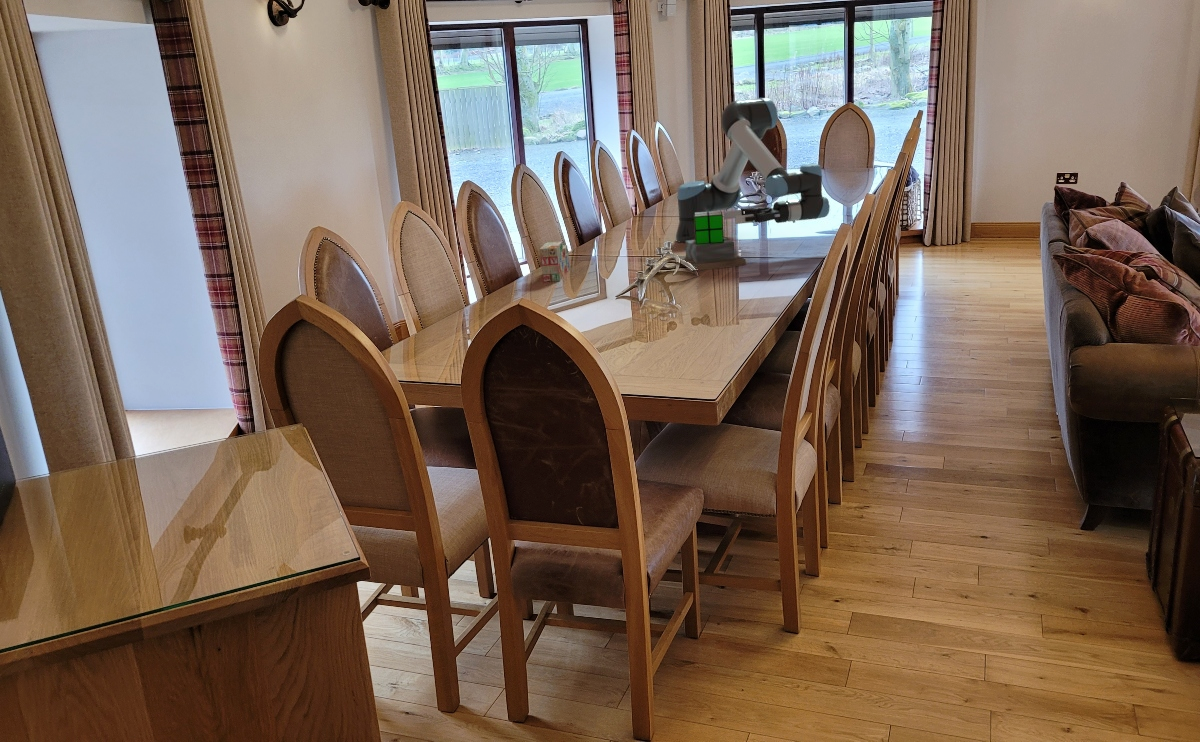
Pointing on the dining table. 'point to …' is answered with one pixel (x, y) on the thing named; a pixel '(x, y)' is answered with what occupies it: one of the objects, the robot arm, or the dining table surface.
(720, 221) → the puzzle cube
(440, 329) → the dining table surface
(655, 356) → the dining table surface
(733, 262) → the tower base
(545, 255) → the stack of blocks
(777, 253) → the dining table surface
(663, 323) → the dining table surface
